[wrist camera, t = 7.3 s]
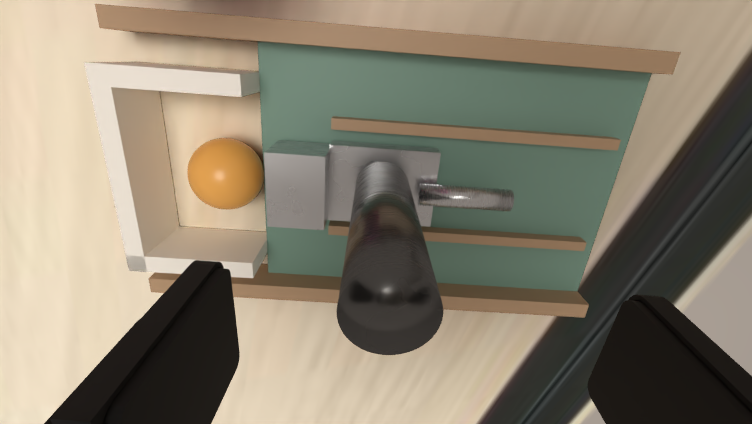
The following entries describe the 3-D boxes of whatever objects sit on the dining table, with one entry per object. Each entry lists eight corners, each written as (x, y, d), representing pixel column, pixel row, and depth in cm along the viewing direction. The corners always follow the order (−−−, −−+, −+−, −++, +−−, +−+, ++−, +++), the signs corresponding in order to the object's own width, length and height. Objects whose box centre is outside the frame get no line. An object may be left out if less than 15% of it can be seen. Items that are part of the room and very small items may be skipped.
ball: (174, 146, 18) (191, 130, 21) (184, 222, 19) (199, 195, 23) (261, 148, 19) (263, 132, 22) (264, 219, 20) (266, 194, 24)
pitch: (645, 53, 20) (706, 52, 16) (566, 294, 26) (597, 333, 23) (128, 10, 19) (69, -2, 16) (171, 270, 25) (137, 307, 22)
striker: (506, 153, 21) (660, 261, 10) (491, 222, 23) (607, 384, 11) (278, 136, 21) (162, 230, 9) (280, 208, 22) (184, 362, 11)
